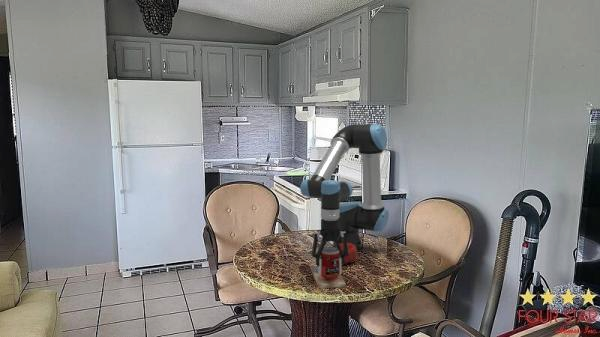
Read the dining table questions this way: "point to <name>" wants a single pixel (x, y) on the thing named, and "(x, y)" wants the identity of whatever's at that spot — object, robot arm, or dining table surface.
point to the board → (326, 282)
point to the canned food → (330, 263)
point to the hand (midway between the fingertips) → (329, 272)
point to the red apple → (349, 253)
